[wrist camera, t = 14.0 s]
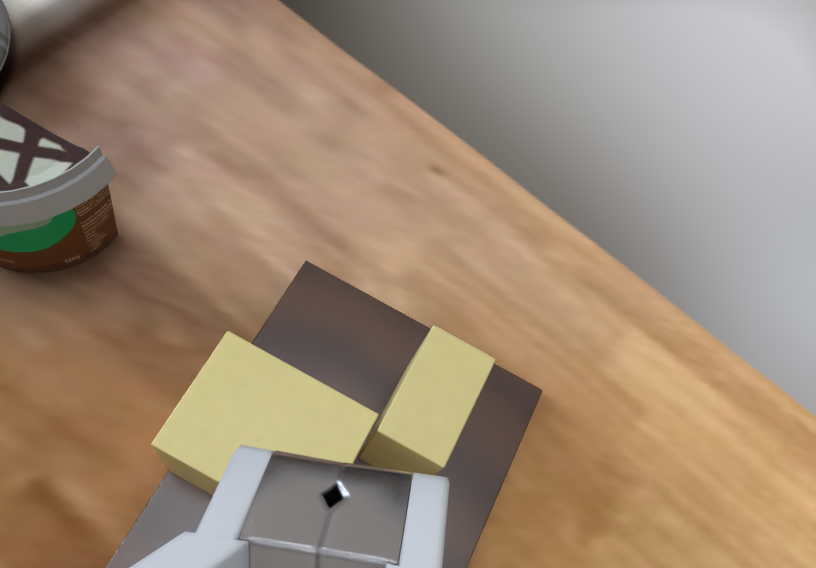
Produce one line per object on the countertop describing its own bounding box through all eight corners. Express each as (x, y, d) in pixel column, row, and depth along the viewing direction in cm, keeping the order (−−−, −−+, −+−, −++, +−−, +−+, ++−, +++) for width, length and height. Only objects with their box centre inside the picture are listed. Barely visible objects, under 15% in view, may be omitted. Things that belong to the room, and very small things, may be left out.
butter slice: (414, 489, 39) (444, 468, 33) (358, 457, 40) (376, 430, 33) (460, 395, 42) (496, 358, 36) (407, 365, 42) (433, 324, 36)
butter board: (366, 790, 34) (368, 796, 34) (73, 624, 35) (68, 624, 34) (537, 394, 44) (543, 389, 43) (304, 266, 44) (305, 260, 44)
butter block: (304, 547, 37) (314, 536, 31) (168, 470, 38) (150, 444, 31) (360, 443, 40) (379, 413, 34) (232, 372, 40) (227, 330, 34)
